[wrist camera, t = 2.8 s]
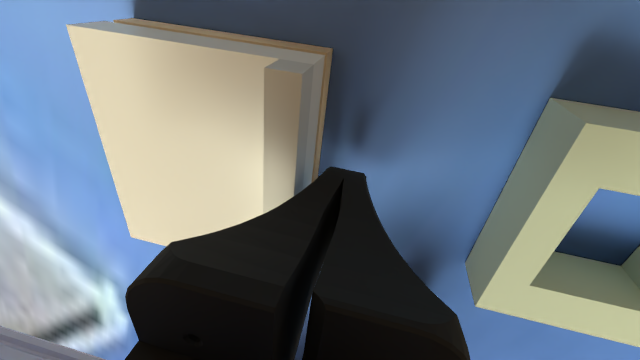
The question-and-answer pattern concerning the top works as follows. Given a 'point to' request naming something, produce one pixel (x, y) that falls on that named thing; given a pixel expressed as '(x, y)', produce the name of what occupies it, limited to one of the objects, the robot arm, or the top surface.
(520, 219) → the socket board
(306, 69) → the lid
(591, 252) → the top surface
